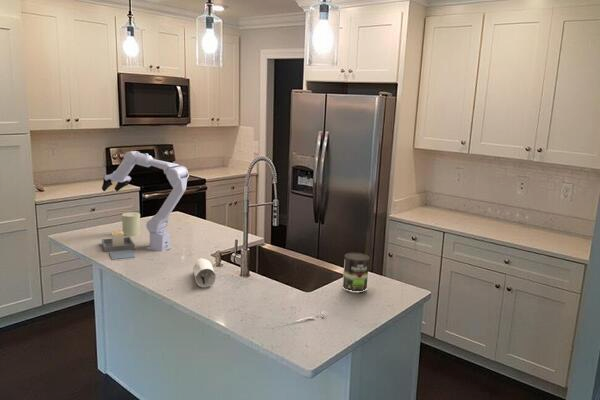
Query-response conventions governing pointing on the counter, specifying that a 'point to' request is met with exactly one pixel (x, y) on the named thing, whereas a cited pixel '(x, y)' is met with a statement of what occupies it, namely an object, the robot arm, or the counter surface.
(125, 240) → the gray square tray
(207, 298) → the counter surface
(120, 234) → the block
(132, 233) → the can
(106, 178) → the robot arm
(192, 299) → the counter surface
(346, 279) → the coffee can
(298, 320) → the fork
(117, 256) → the mat
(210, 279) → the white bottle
